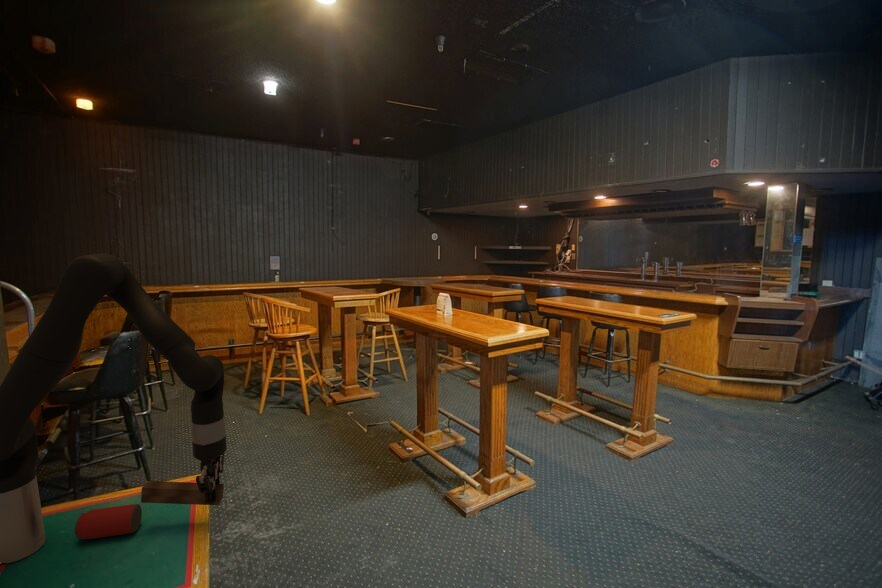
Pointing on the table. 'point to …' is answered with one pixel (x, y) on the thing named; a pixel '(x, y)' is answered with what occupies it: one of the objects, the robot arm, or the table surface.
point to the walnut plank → (177, 493)
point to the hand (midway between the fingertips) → (213, 497)
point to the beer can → (108, 521)
